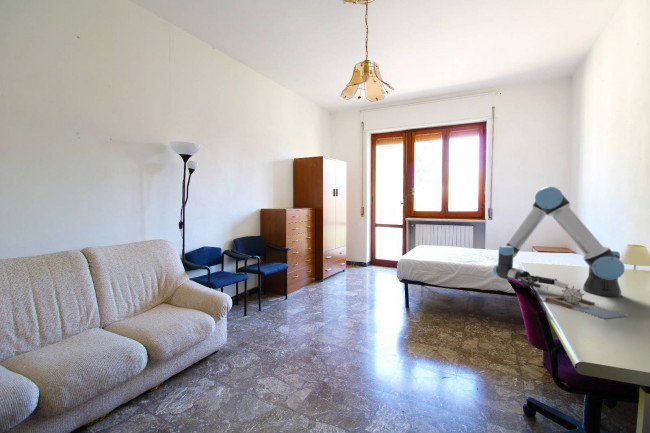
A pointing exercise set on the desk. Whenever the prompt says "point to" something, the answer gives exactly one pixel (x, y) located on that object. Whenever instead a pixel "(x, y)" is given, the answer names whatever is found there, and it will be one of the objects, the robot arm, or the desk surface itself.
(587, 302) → the open frame
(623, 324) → the desk surface
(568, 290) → the game die
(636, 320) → the desk surface
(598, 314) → the mat
